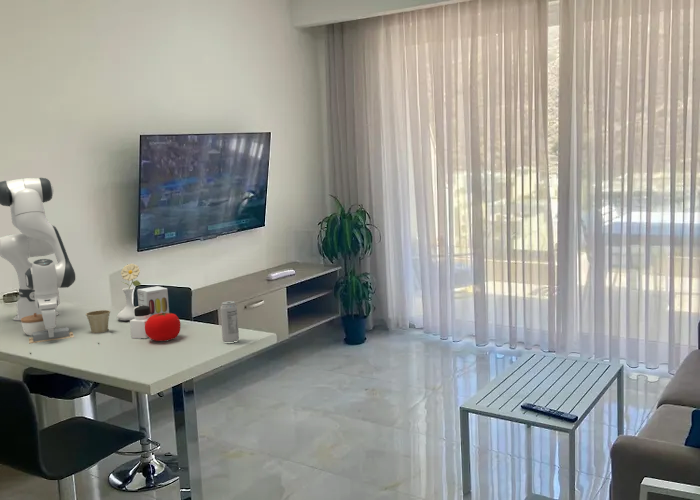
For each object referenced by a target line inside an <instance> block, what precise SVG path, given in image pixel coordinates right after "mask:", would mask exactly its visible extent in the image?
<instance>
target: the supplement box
mask: <svg viewBox="0 0 700 500" xmlns="http://www.w3.org/2000/svg"><path fill="white" fill-rule="evenodd" d="M137 302H138V306H149V307H150V317H151V316H152V315H155V314H159V313H170V307H169V306H170V305H169V292H168V288H167V287H163V286H159V285H156V286H151V287H145V288H137Z"/></svg>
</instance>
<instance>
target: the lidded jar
mask: <svg viewBox="0 0 700 500" xmlns="http://www.w3.org/2000/svg"><path fill="white" fill-rule="evenodd" d="M20 322H21V328H22V330H23V332H24V333H25V334H26V336H31V337H33V332H37V331H45V330H48V329H46V328H45V325H44V321H43V317H42V314H36V313H34V315H30V316H26V317H23V318H21V320H20Z"/></svg>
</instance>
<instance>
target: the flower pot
mask: <svg viewBox="0 0 700 500" xmlns="http://www.w3.org/2000/svg"><path fill="white" fill-rule="evenodd" d="M110 313H111V311H110V310H109V309H99V310H93V311H87V312H86V313H85V316H86V317H87V318H86V319H87V320H88V324H89V328H90V331H91V332H90V333H92V334H99V333H106V332H108V331H109V318H110Z"/></svg>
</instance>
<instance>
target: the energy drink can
mask: <svg viewBox="0 0 700 500" xmlns="http://www.w3.org/2000/svg"><path fill="white" fill-rule="evenodd" d="M219 308H220V309H219V311H220V320H221V323H220V324H221V335H222V338H221V339H222V341H223V342H234V341H237V340H238V341H239V340H240V334H239V318H238V306H237V305H236V302H235V301H233V300H228V301H227V300H226V301H222V302H221V306H220V307H219Z"/></svg>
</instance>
